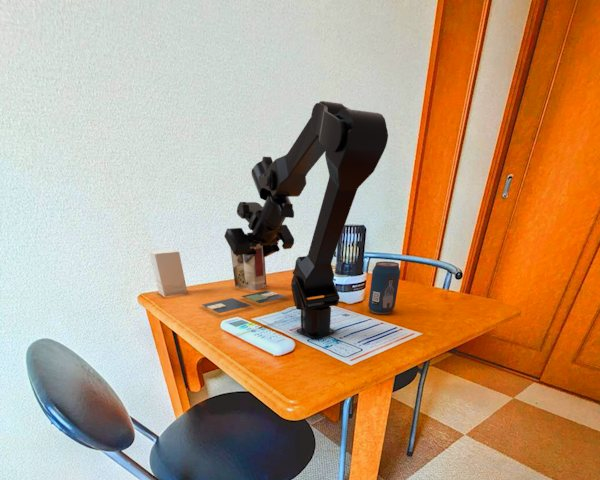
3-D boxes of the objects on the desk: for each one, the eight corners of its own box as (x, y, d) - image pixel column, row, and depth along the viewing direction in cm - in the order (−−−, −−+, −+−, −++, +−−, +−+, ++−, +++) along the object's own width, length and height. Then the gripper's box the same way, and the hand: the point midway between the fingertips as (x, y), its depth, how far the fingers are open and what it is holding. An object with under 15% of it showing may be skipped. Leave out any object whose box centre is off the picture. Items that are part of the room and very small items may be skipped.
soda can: (377, 305, 89) (383, 260, 82) (398, 310, 84) (406, 263, 78) (362, 310, 85) (367, 263, 78) (384, 316, 80) (392, 267, 74)
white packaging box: (188, 294, 100) (179, 251, 93) (164, 298, 96) (153, 253, 89) (181, 290, 105) (172, 248, 98) (158, 293, 101) (147, 250, 94)
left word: (251, 308, 87) (250, 304, 86) (219, 316, 82) (218, 311, 81) (232, 301, 93) (232, 296, 93) (201, 308, 88) (201, 303, 87)
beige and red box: (265, 282, 89) (262, 239, 83) (255, 284, 87) (251, 240, 81) (255, 279, 92) (251, 238, 86) (245, 281, 91) (241, 239, 84)
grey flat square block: (287, 300, 94) (287, 295, 93) (260, 306, 89) (259, 302, 88) (267, 293, 100) (267, 289, 100) (241, 299, 95) (240, 295, 94)
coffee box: (267, 289, 105) (264, 235, 96) (255, 293, 101) (250, 237, 92) (247, 285, 109) (242, 233, 100) (234, 289, 105) (228, 235, 96)
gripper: (286, 188, 80) (264, 233, 93) (222, 188, 70) (207, 239, 83) (306, 225, 80) (281, 265, 93) (245, 230, 69) (226, 274, 82)
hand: (250, 260), depth 88 cm, fingers closed on beige and red box, 3 cm apart
